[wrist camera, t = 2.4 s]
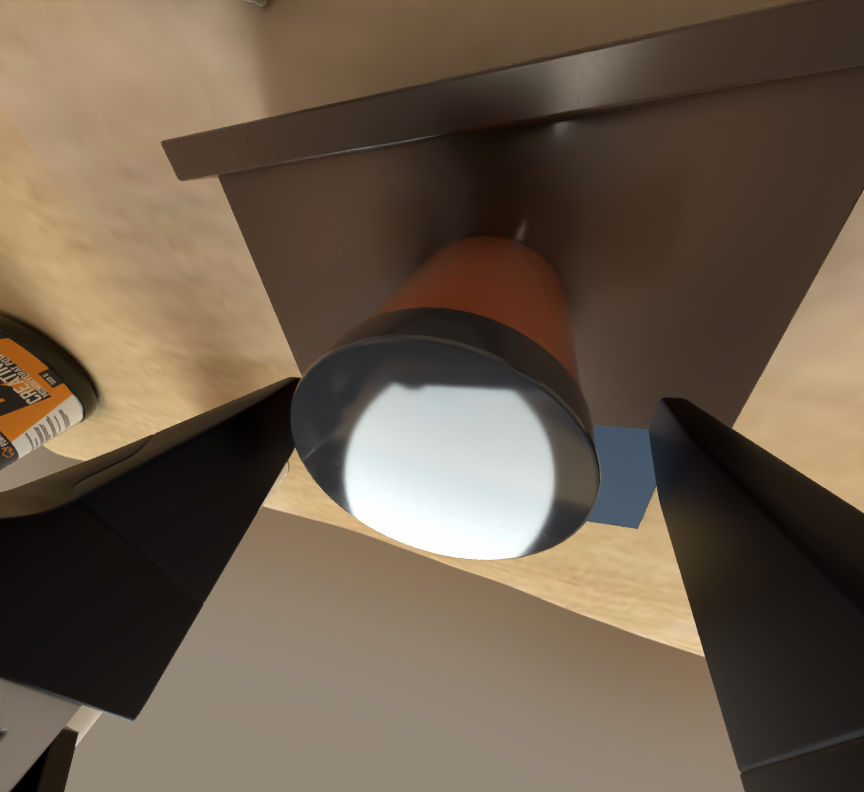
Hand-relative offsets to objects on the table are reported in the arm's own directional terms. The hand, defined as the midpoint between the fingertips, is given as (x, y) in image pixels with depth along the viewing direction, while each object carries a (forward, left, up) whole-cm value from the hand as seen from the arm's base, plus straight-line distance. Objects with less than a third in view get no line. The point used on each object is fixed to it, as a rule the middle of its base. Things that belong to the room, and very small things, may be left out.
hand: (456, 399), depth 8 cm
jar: (0, 0, -5) cm, 5 cm away
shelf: (0, -1, -8) cm, 8 cm away
